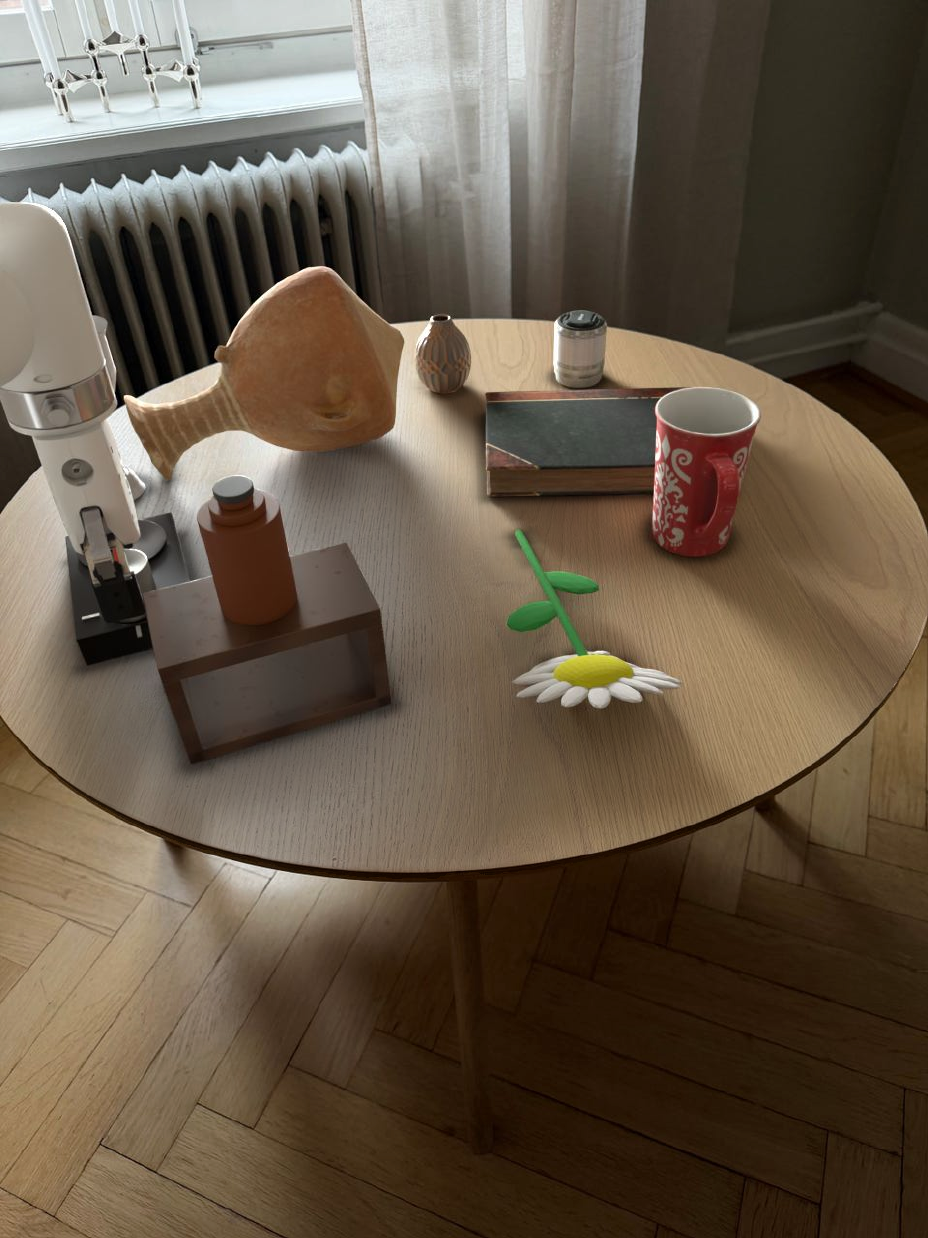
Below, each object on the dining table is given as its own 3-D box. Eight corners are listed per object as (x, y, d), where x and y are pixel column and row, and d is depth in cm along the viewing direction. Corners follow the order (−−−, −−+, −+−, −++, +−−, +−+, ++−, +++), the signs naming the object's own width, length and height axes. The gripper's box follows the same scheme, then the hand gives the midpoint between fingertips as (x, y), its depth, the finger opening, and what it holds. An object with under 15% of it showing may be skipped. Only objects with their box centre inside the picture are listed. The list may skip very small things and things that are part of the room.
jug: (445, 376, 90) (145, 477, 85) (430, 452, 109) (183, 539, 103) (369, 206, 93) (76, 292, 88) (367, 308, 112) (124, 384, 106)
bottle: (228, 634, 65) (197, 517, 59) (214, 588, 69) (184, 474, 63) (305, 613, 67) (283, 497, 60) (287, 570, 71) (264, 456, 64)
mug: (633, 510, 93) (646, 387, 84) (723, 506, 93) (745, 383, 84) (658, 590, 83) (676, 460, 74) (758, 585, 83) (787, 455, 74)
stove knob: (164, 614, 78) (149, 569, 75) (110, 628, 77) (93, 583, 74) (156, 584, 81) (142, 540, 78) (105, 598, 80) (88, 553, 77)
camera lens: (606, 368, 117) (610, 307, 112) (599, 391, 112) (604, 329, 107) (557, 364, 118) (559, 304, 113) (548, 387, 113) (550, 325, 108)
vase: (483, 384, 114) (482, 315, 109) (445, 404, 111) (441, 335, 105) (443, 368, 118) (440, 301, 112) (405, 387, 114) (399, 319, 109)
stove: (88, 680, 77) (76, 652, 75) (74, 561, 89) (64, 534, 87) (208, 647, 79) (200, 619, 77) (178, 536, 92) (171, 510, 90)
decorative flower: (455, 565, 90) (531, 768, 66) (454, 521, 88) (534, 715, 63) (579, 553, 92) (699, 746, 68) (583, 509, 90) (709, 693, 65)
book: (486, 498, 95) (729, 493, 94) (485, 468, 93) (735, 462, 92) (485, 416, 108) (699, 411, 108) (485, 388, 106) (703, 382, 105)
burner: (81, 581, 82) (80, 579, 82) (75, 533, 88) (74, 531, 87) (172, 559, 84) (171, 556, 84) (161, 514, 90) (160, 511, 89)
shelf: (190, 765, 69) (157, 669, 63) (173, 687, 76) (141, 593, 69) (392, 704, 73) (380, 608, 67) (360, 635, 80) (346, 541, 73)
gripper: (123, 437, 61) (180, 633, 72) (101, 339, 73) (153, 519, 84) (2, 460, 59) (80, 659, 70) (1, 355, 71) (67, 538, 82)
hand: (120, 582), depth 77 cm, fingers open, 9 cm apart
